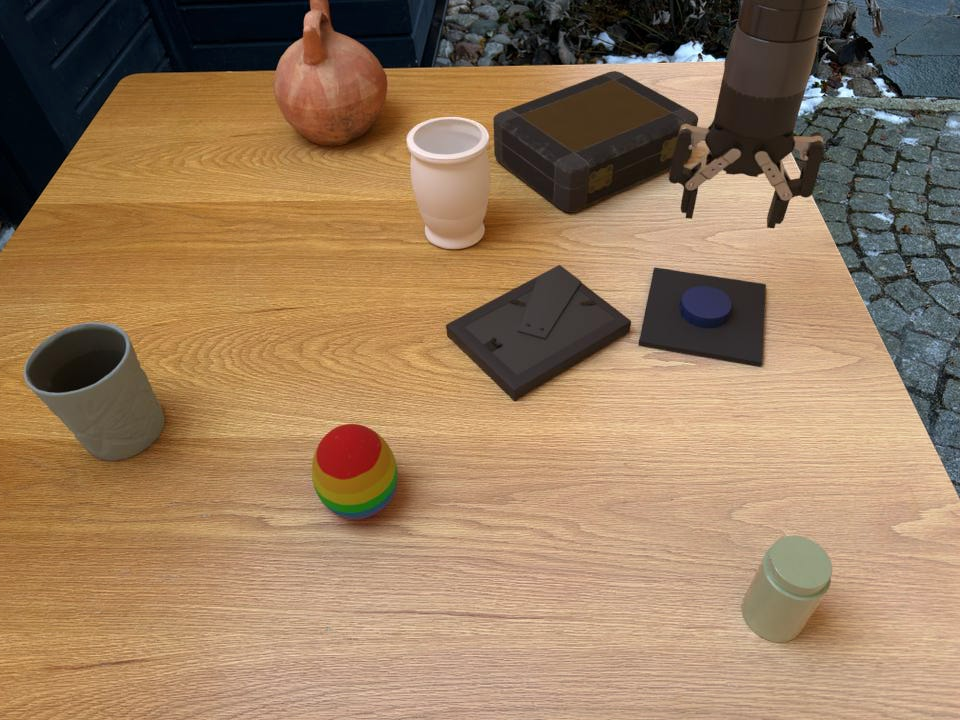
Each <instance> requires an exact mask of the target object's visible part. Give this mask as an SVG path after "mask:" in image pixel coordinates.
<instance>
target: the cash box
mask: <svg viewBox="0 0 960 720" xmlns="http://www.w3.org/2000/svg"><path fill="white" fill-rule="evenodd" d="M684 120H689V121H691V122H692V126H696V127H698V123H699V116H698V115H697V114H696V112H694V111H692V110H690V109H689V108H687V107H685V106H683V105H681V104H679V103H678V102H676V101H674V100H672V99H670V98H669V97H667V96H665V95H663V94H662V93H659V92H658V91H656V90H654V89H652V88H650V87H649V86H646V85H644V84H643V83H641V82H639V81H638V80H635V79H634V78H631V77H630V76H628V75H627V74H624V73H623V72H620V71H617V70H613V71H607V72H605V73H602V74H600V75H597V76H595V77H591V78H589V79H586V80H584V81H580V82H578V83H575V84H573V85H570V86H567V87H565V88H561V89H559V90H556V91H554V92H551V93H548V94H545V95H543V96H540V97H538V98H535V99H532V100H529V101H526V102H524V103H522V104H519V105H516V106H513V107H511V108H508V109H505V110H503V111H500V112H498V113H497V114H495V115H494V116H493V151H494V153H493V154H494V155H493V156H494V158H495V160H496V162H497V163H499V164H500V165H502V166H503V167H504V168H505V169H507V170H508V171H509V172H510V173H512V174H513V175H515V176H516V177H517V178H518V179H520V180H521V181H522V182H523V183H525V184H527V186H529V187H530V188H531V189H532V190H534V191H535V192H536V193H538V194H540V195H541V196H542V197H543V198H545V199H546V200H547V201H549V202H550V203H551V204H552V205H554V206H555V207H556V208H557V209H559V210H560V211H563V212H566V213H575V212H579V211H580V210H583V209H585V208H587V207H589V206H591V205H594V204H596V203H598V202H600V201H603V200H605V199H607V198H610V197H611V196H614V195H616V194H618V193H621V192H623V191H625V190H627V189H630V188H632V187H634V186H636V185H638V184H641V183H643V182H645V181H647V180H650V179H652V178H654V177H657V176H659V175H661V174H663V173H665V172H667V171H670V166H671V161H672V157H673V153H674V149H675V145H676V141H677V137H678V133H679V128H680V124H681V123H682V122H683V121H684ZM693 150H694V149H692V150H689V149H688V152H687V156H686V160H685V163H687V162H689V160H691V157H692V155H693Z"/></svg>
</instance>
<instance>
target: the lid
mask: <svg viewBox="0 0 960 720" xmlns="http://www.w3.org/2000/svg"><path fill="white" fill-rule="evenodd" d="M679 307H680V312H681V316H683V318H684V319H685V320H686V321H688V322H689V323H691V324H693V325H695V326H698V327H703V328H713V327H718V326H720V325H722V324H724V323H726V321H727V319H728V317H729V315H730V312H731V309H732V308H731V300H730V298H729V297H728V296H727V295H726V294H725V293H724V292H722V291H721V290H719V289H716V288H713V287H709V286H697V287H693V288H690V289H688V290H687V291H686V292H685V293H684V294H683V296H682V300H681V301H680V306H679Z"/></svg>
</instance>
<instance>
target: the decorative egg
mask: <svg viewBox="0 0 960 720" xmlns="http://www.w3.org/2000/svg"><path fill="white" fill-rule="evenodd" d="M398 472H399V471H398V465H397V462H396V458H395V455H394V452H393V451H392V449H391V446H390V445H389V444H388V442H387V441H386V439H384V438H383V436H381V435H380V434H379V433H378V432H376V431H375V430H373V429H372V428H370V427H367V426H366V425H363V424H357V423H345V424H341V425H339V426H336V427H333V428H332V429H330V430H329V431H328V432H327V433H326V434H325V435H324V437H322V438H321V440H320V442H319V443H318V444H317V447H316V448H315V450H314V454H313V457H312V463H311V477H312V478H311V480H312V484H313V488H314V490H315V492H316V493H315V494H316V495H317V497H318V499H319V500H320V501H321V503H322V504H323V505H324V506H325V507H326V508H327V510H329V511H330V512H332V513H333V514H335V515H337V516H338V517H341V518H344V519H349V520H364V519H368V518H370V517H372V516H375V515H376V514H378V513H380V512H381V511H382V510H383V509H384V508H385V507H386V506H387V505H388V504H389V503H390V501H391V499H392V498H393V497H394V494H395V492H396V489H397V484H398V474H399V473H398Z"/></svg>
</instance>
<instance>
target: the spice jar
mask: <svg viewBox="0 0 960 720" xmlns="http://www.w3.org/2000/svg"><path fill="white" fill-rule="evenodd" d="M832 576H833V564H832V561H831V558H830V556H829V554H828V553H827V552H826V550H825V549H824V548H823V547H822V546H821V545H820V544H819V543H817V542H815V541H814V540H812V539H810V538H807V537H805V536H804V537H803V536H800V535H787V536H783V537H780V538H778V539H777V540H775V541H774V542H773V543H772V545H770V547H769V548H768V549H767V550H766V552H765V553H764V555H763V557H762V560H761V561H760V563H759V565H758V567H757V570H756V571H755V574H754V576H753V578H752V580H751V582H750V584H749V586H748V588H747V591H746V592H745V594H744V597H743V598H742V601H741V612H742V616H743V619H744V621H745V622H746V624H747V625H748V627H749V628H750V629H751V630H752V632H754V633H755V634H756V635H758V637H760V638H762V639H764V640H766V641H770V642H774V643H786V642H790V641H792V640H794V639H796V638H797V637H798V636H799V635H800V634H801V632H803V631H802V630H803V629H804V628H805V626H806V625H807V623H808V621H809V620H810V618H811V617H812V616H813V614H814V612H815V611H816V610H817V607H818V606H819V605H820V603H821V601H822V600H823V598H825V596H826V594H827V593H828V591H829V589H830V587H831V584H832V583H831V582H832Z"/></svg>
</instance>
